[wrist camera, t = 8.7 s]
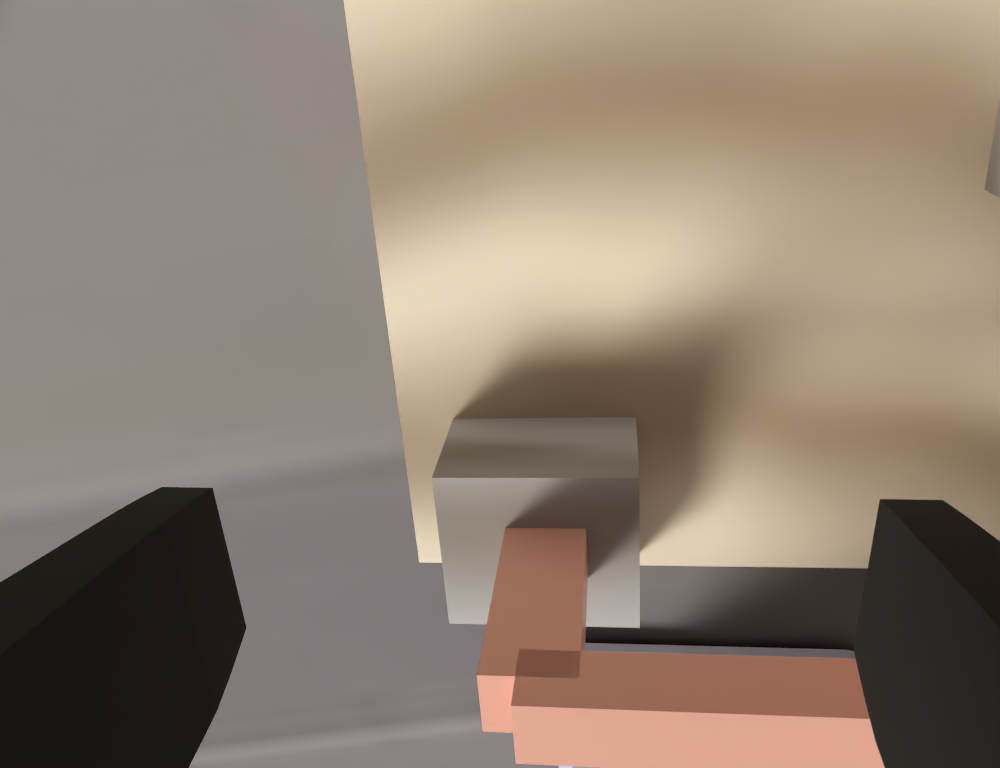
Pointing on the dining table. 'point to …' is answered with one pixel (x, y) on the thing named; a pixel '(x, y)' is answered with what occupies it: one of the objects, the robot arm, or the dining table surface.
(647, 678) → the pink notched tray
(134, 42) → the dining table surface
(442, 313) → the display stand
